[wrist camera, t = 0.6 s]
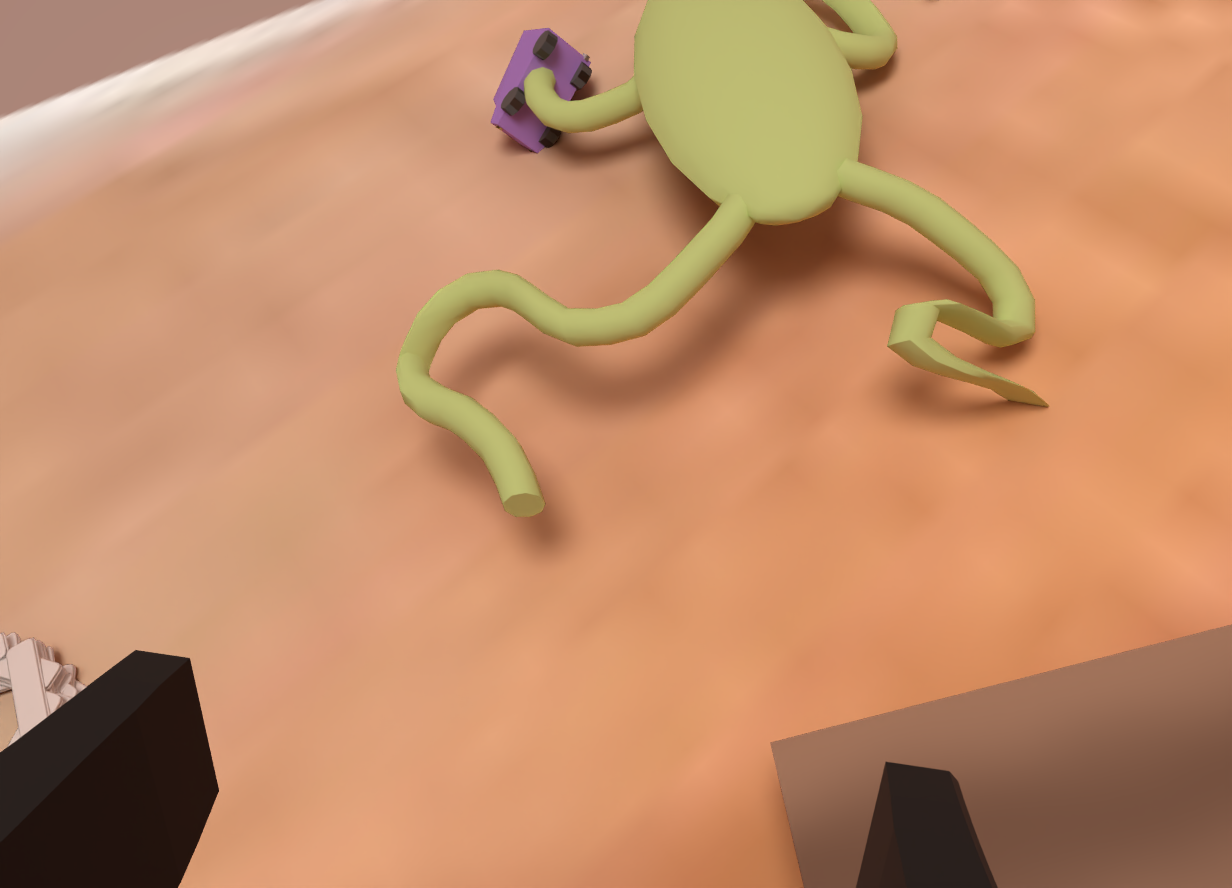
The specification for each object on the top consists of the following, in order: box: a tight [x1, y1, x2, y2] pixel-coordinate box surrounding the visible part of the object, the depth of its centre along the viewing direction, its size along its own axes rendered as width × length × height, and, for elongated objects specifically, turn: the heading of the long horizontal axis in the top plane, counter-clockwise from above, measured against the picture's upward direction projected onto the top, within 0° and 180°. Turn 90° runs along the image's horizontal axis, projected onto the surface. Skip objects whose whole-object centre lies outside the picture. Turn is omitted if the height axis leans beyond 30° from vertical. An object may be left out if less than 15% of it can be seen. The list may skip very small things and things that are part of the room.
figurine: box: [396, 0, 1049, 517], centre depth 39 cm, size 18×27×6 cm
